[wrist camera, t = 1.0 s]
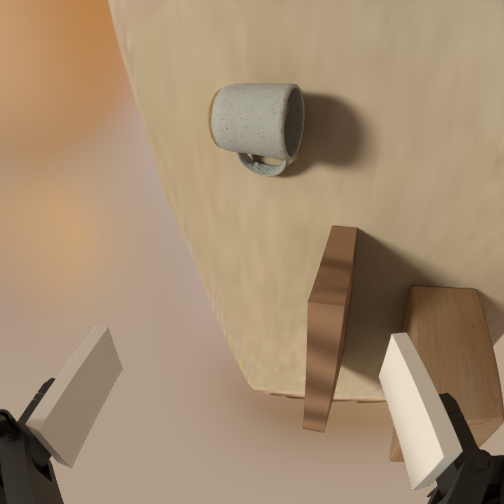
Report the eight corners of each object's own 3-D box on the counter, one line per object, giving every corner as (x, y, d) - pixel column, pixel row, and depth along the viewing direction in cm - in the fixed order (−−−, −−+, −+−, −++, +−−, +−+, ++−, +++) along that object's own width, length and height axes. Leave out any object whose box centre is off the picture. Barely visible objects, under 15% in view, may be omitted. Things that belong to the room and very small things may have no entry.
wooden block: (458, 339, 36) (466, 461, 20) (399, 337, 40) (387, 462, 24) (477, 287, 31) (507, 421, 15) (410, 284, 35) (411, 424, 19)
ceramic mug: (233, 83, 30) (198, 87, 24) (305, 83, 27) (287, 85, 22) (237, 168, 36) (206, 191, 30) (303, 175, 33) (285, 201, 27)
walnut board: (332, 225, 35) (307, 301, 24) (357, 227, 34) (344, 306, 23) (324, 356, 47) (303, 428, 36) (342, 359, 46) (323, 432, 35)
